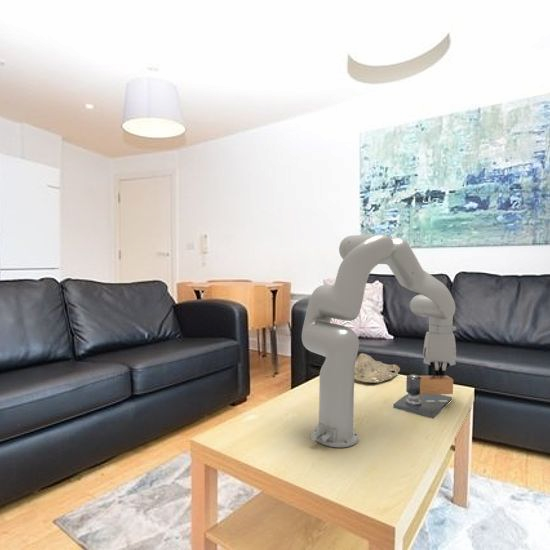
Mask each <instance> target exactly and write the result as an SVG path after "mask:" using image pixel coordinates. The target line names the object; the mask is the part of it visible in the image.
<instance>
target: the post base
mask: <svg viewBox="0 0 550 550" xmlns="http://www.w3.org/2000/svg"><path fill="white" fill-rule="evenodd" d="M451 400H452V401H453V397H452V396H448V395H446V394H418V395H415V394H410V393H407V394H405V395H404V396H403V397H401V398H400V399H399V400H397V401H396V402H394V403H393V405H392V408H393V409H397V410H400V411H401V410H402V411H405V412H407V413H411V414H415V415H419V416H422V417H426V418H430V419H435V417H436V416H437V415H438V414H439V413H441V412H442V411H443V410H444V409H445V408H446V407H447V406H448V405H449V404H450V403H451V402H452V401H451ZM450 401H451V402H450ZM449 402H450V403H449ZM448 403H449V404H448ZM447 404H448V405H447ZM446 405H447V406H446ZM445 406H446V407H445ZM444 407H445V408H444ZM443 408H444V409H443ZM442 409H443V410H442ZM441 410H442V411H441Z"/></svg>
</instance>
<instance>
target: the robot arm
mask: <svg viewBox="0 0 550 550" xmlns="http://www.w3.org/2000/svg"><path fill="white" fill-rule="evenodd" d="M338 247H339V248H338V252H339V256H340V258H341V259H342V261H341V263H340V264H339V267H338V269H337V273H336V277H335V280H334V284H333V285H331V284H322V285H319V286H318V287H316V288H315V289H314V290H313V291H312V293H311V295H310V297H309V300H308V304H307V308H306V312H305V317H304V321H303V326H302V330H301V342H302V344H303V346H304V347H305V349H306V350H308V351H309V352H310V353H314V354H317V355H320V356H322V357H325V360H324V362H323V364H322V366H321V368H320V372H319V380H318V382H319V387H318V388H319V390H318V391H319V394H318V395H319V397H318V399H319V400H318V423H317V426H315V427H314V428H313V430H312V433H311V434H310V436H309V437H310V439H311V441H313V442H315V441H316V442H318V443H319V444H321V445H323V446H326V447H331V448H337V449H338V448H339V449H340V448H349V447H351V446H354V445H356V444H357V443H358V442H359V439H360V438H359V437H360V436H359V433H358V432H357V430H356V429H355V428H354V406H355V405H354V402H355V401H354V400H355V399H354V398H355V378H354V371H355V362H356V360H357V359H356V358H357V357H358V352H359V347H360V341H359V337H358V334H357V333H356V331H354V330H353V329H352V328H350V327H348V326H346V325H343V324H338V323H334V322H332V319H334V320H339V321H344V322H345V321H347V322H350V321H351V322H352V321H354V320H356V319H357V318H358V317H359V316H360V313H361V310H362V309H361V308H362V304H363V301H364V296H365V291H366V287H367V283H368V278H369V276H370V274H371V272H372V271H373V269H374V268H375V267H377V266H378V265H387V266H388V268H390V271H391V272H392V273H393V275H394V277H395V279H396V281H397V282H398V284H400V286H401V287H403V288H405V289H407V290H409V291H412V292H414V293H417V295H415V296H414V297H412V299H411V300H410V302H409V308H410V310H411V312H412V313H413V314H414V315H416V316H418V317H425V318H429V319H428V320H429V323H428V324H429V325H428V331H426V333H425V336H424V343H423V351H422V352H423V353H422V355H423V364H425V365H429V366H431V367H432V368H433V369H434V370H433V376H445V372H446V370H447V368H448V367H451V366H455V365H456V364H457V363H456V360H457V345H456V337H455V333H454V331H457V326H455V325H453V322H454V321H453V319H454V317H453V316H454V315H455V313H456V303H455V299H454V297H453V295H452V293H451V292H450V289H448V287H447V286H446V285H445V284H444V283H443V282H441V281H440V280H439V279H437V278H436V277H435V276H433V275H432V274H430V273H429V272H426V271H425V270H424V269H423V267H422V265H421V263H420V262H419V260H418V258H417V256H416V255H415V253H414V251H413V249H412V248H411V246H410V244H409V242H408V241H407V240H406V239H404V238H401V237H393V236H392V237H390V236H389V235H386V234H382V233H381V234H380V233H373V234H370V233H369V234H357V235H354V234H353V235H348V236H346V237H344V238H343V239H342V240H341V241H340V244H339V246H338ZM439 364H440V365H439Z"/></svg>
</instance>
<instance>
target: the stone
mask: <svg viewBox="0 0 550 550" xmlns="http://www.w3.org/2000/svg"><path fill="white" fill-rule="evenodd" d="M392 371H393V372H392ZM400 371H401V368H400V366H399V365H398V364H387V363H383V362H382V361H379V360H378V361H377V360H375V359H374V358H372V356H371V355H369V354H366V353H360V354H359V355H357V357H356V362H355V371H354V380H357V381H360V382H364V383H373V384H376V383H378V384H379V383H382V382H384V381H388V380H390V379H392V378H395V377H396V376H397V375H398V373H399V372H400Z"/></svg>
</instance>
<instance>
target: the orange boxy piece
mask: <svg viewBox="0 0 550 550" xmlns="http://www.w3.org/2000/svg"><path fill="white" fill-rule="evenodd" d="M405 384H406V386H405V387H406V388H405V389H406V390H405V391H406V393H407V394H408V393H410V394H415V395H418V394H441V395H453V392H454V391H453V390H454V378H452V377H450V376H449V375H444V376H434V375H417V374H409V375H406V383H405Z"/></svg>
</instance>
